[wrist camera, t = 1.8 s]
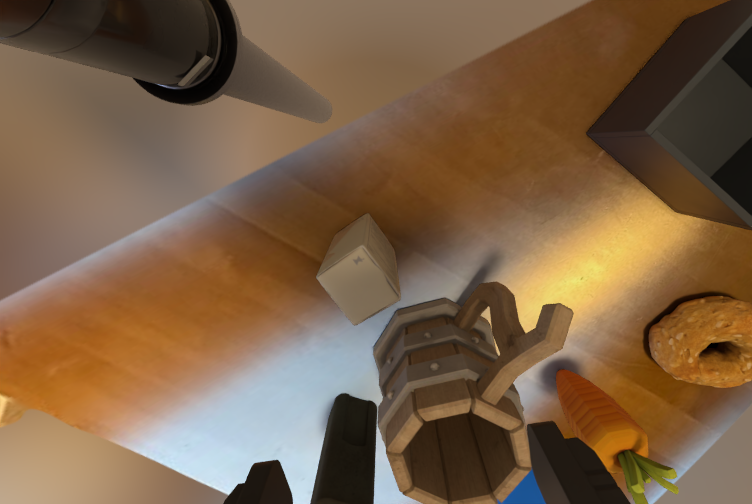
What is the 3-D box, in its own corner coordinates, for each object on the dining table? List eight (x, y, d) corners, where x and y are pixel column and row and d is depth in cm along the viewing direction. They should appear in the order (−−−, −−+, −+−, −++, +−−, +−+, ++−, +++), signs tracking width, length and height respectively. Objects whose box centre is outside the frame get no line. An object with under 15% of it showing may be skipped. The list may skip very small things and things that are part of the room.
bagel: (652, 291, 36) (690, 312, 32) (763, 289, 36) (818, 311, 31) (634, 373, 39) (666, 404, 35) (736, 373, 39) (783, 403, 34)
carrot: (569, 343, 38) (679, 464, 24) (590, 375, 39) (708, 508, 25) (528, 366, 39) (611, 495, 25) (550, 396, 40) (641, 536, 26)
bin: (585, 133, 32) (644, 130, 25) (686, 18, 29) (785, -24, 22) (676, 212, 34) (755, 231, 26) (779, 111, 31) (899, 101, 24)
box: (333, 234, 35) (311, 273, 25) (368, 211, 35) (361, 240, 24) (363, 275, 37) (354, 329, 26) (398, 253, 36) (403, 299, 25)
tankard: (452, 416, 41) (488, 560, 27) (358, 371, 40) (342, 498, 26) (557, 278, 36) (669, 367, 22) (451, 220, 35) (498, 274, 20)
